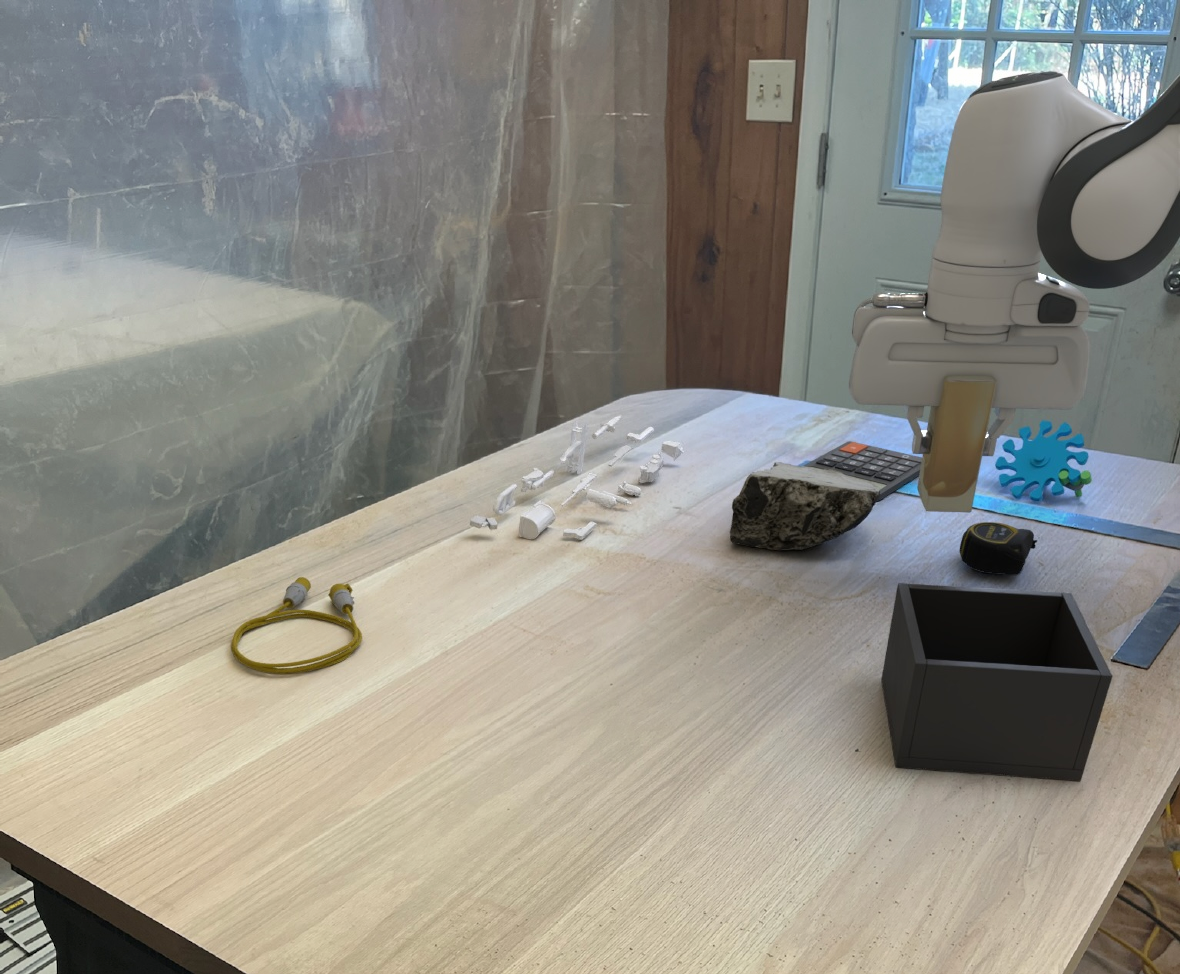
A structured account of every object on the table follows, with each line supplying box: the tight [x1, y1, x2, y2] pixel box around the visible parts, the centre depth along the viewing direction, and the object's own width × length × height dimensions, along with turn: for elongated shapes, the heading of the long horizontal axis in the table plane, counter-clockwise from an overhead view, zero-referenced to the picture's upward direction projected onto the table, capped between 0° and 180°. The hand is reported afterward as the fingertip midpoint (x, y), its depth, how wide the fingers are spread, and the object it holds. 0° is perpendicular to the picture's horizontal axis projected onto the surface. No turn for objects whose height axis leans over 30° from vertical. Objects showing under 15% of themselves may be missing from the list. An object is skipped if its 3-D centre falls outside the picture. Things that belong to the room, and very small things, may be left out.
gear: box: [994, 420, 1093, 503], centre depth 134 cm, size 11×6×10 cm
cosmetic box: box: [916, 376, 997, 514], centre depth 106 cm, size 6×4×12 cm
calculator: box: [802, 441, 922, 502], centre depth 139 cm, size 12×1×15 cm
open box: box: [881, 582, 1113, 782], centre depth 89 cm, size 14×14×9 cm
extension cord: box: [230, 576, 363, 675], centre depth 104 cm, size 12×16×2 cm
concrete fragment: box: [729, 461, 880, 551], centre depth 121 cm, size 15×10×15 cm
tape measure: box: [958, 521, 1038, 576], centre depth 116 cm, size 7×7×4 cm
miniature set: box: [469, 414, 684, 541], centre depth 132 cm, size 6×35×12 cm
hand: (952, 453), depth 106 cm, fingers closed on cosmetic box, 4 cm apart
